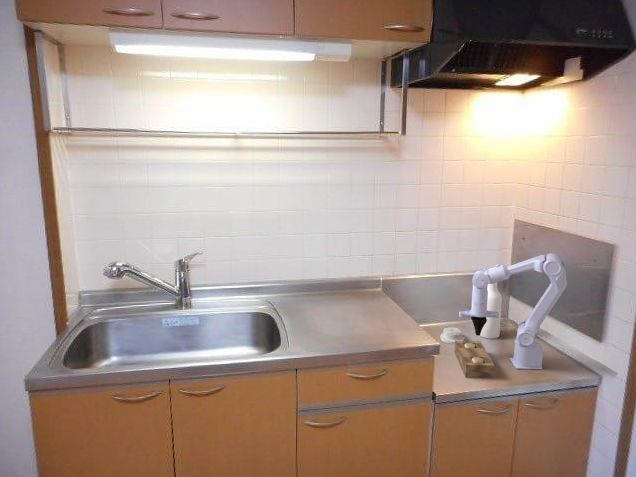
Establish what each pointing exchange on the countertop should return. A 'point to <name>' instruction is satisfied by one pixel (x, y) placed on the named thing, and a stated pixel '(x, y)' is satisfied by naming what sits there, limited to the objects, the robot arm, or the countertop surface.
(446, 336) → the mechanical component
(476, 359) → the peg
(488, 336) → the white milk bottle
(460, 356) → the collar bar
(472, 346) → the peg
